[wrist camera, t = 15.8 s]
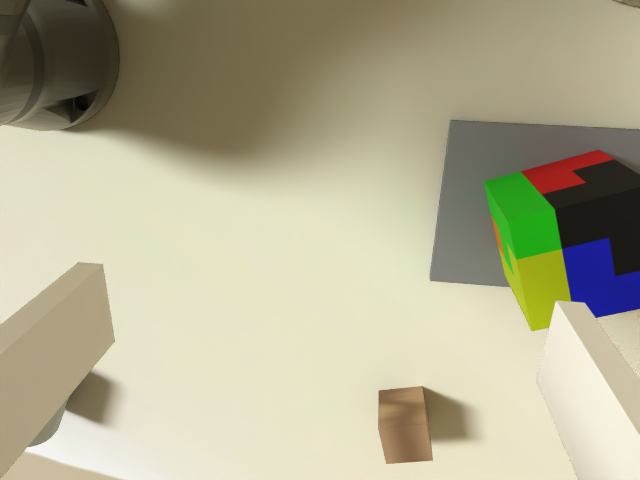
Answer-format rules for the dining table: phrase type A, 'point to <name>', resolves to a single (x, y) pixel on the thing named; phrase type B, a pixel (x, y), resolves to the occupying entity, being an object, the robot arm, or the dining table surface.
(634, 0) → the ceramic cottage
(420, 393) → the walnut block
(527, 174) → the puzzle toy
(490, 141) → the charcoal mat
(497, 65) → the dining table surface
